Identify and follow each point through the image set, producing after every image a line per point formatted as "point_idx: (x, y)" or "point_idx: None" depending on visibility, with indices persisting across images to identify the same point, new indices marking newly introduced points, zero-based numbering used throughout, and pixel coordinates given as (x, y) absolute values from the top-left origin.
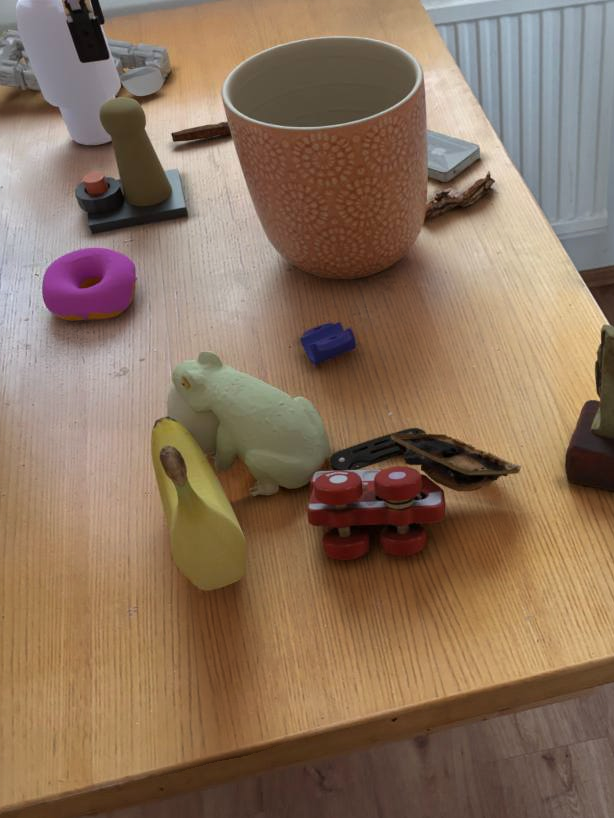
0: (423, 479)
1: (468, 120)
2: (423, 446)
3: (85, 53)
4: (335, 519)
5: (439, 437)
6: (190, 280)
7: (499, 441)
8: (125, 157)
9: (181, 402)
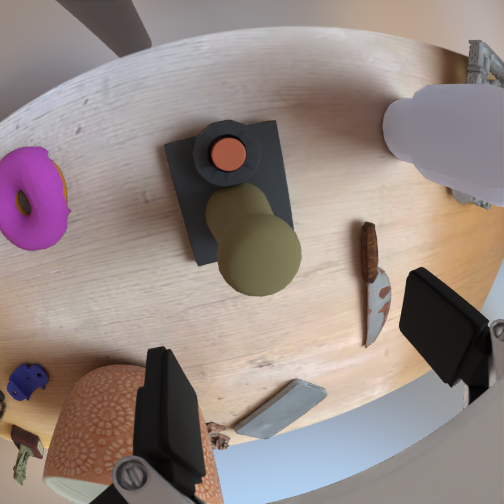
0: None
1: (315, 420)
2: None
3: (139, 388)
4: None
5: (4, 403)
6: (77, 281)
7: (18, 415)
8: (218, 228)
9: None
